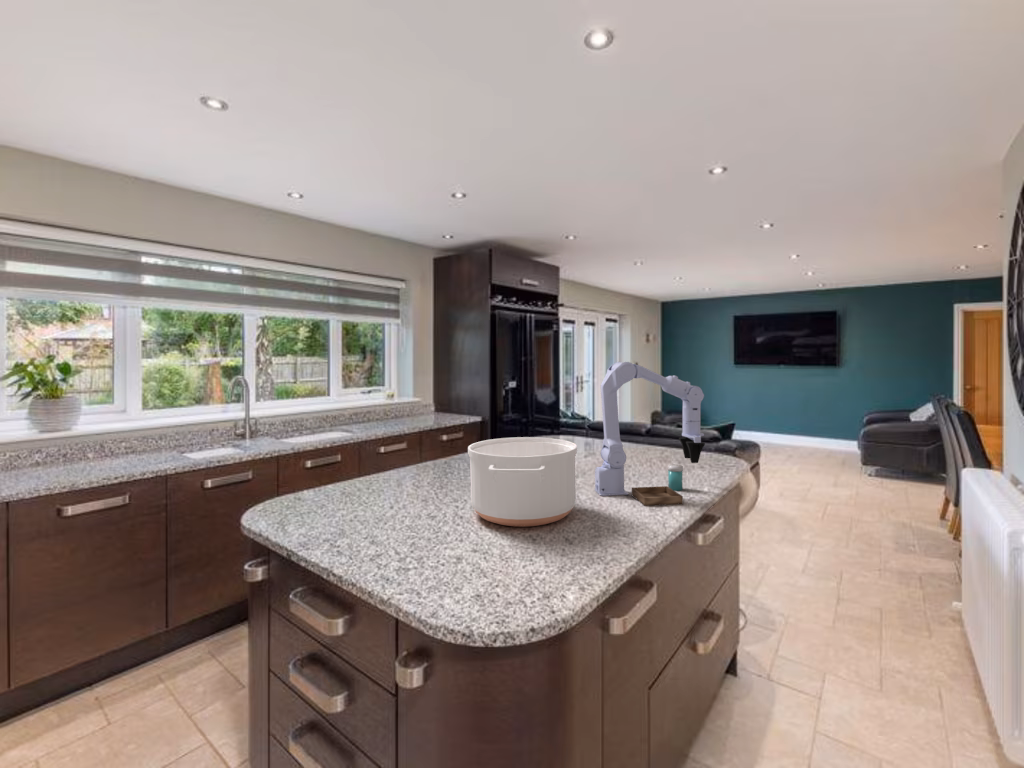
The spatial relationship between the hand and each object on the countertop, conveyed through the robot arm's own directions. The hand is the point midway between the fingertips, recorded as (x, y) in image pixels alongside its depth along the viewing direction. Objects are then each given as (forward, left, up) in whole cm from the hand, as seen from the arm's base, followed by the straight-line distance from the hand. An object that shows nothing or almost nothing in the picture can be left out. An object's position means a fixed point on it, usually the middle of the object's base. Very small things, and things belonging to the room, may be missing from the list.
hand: (691, 460), depth 166 cm
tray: (-16, -10, -10) cm, 22 cm away
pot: (-60, -18, -10) cm, 63 cm away
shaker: (-5, +1, -10) cm, 11 cm away
